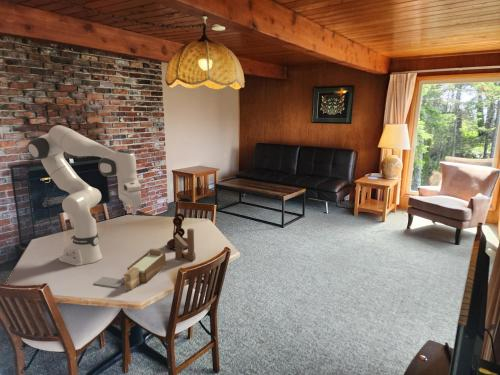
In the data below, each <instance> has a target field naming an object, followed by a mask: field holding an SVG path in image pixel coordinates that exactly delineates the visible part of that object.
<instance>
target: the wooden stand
mask: <svg viewBox="0 0 500 375" xmlns="http://www.w3.org/2000/svg"><path fill="white" fill-rule="evenodd" d="M186 232H187V233H186V236H187V237H186V238H187V242H188V244H187V243H186V242H185V241H184V240H183V239H182V238H181V237H180V236H179V235H178V234H176V235H175V249H174V251H175V252H174V253H175V254H174V255H175V256H174V258H175V260H177V261H178V260H180V261H181V260H183V261H188V262H189V261H191V262H194V261H195V260H196V252H195V229H194V228H188V229H187V231H186ZM185 248H186V249H185ZM184 249H185V250H187V251H184Z"/></svg>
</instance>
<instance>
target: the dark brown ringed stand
mask: <svg viewBox="0 0 500 375" xmlns="http://www.w3.org/2000/svg"><path fill="white" fill-rule="evenodd" d="M184 220H185V215H184V214H183V213H180V212H179V213H177V214H175V215H174V218H173V219H172V223H173V233H172V237H173V238H171V239H169V240H168V241H167V242H166V246H167V247H168V248H169V250H171V249H173V250H175V235H176V234H178V235H179V236H180V237H181V238H182V239H183V240H184V241H185V242H186V243H187V244H188V242H187V237H184V235H185V234H186V233H185V229H184V228H183V227H182V226H183V222H184ZM184 249H185V250H187V249H186V248H184Z"/></svg>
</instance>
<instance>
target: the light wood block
mask: <svg viewBox="0 0 500 375" xmlns="http://www.w3.org/2000/svg"><path fill="white" fill-rule="evenodd" d="M123 280H124V283H123V285H124V290H126V291H132V290H134V289H135V288H136V287H137V286H139V285H140V283H141V282H140V281H139V268H135V267H132V268H130V269H129V270H128V269H127V271H125V272H124V273H123Z"/></svg>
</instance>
